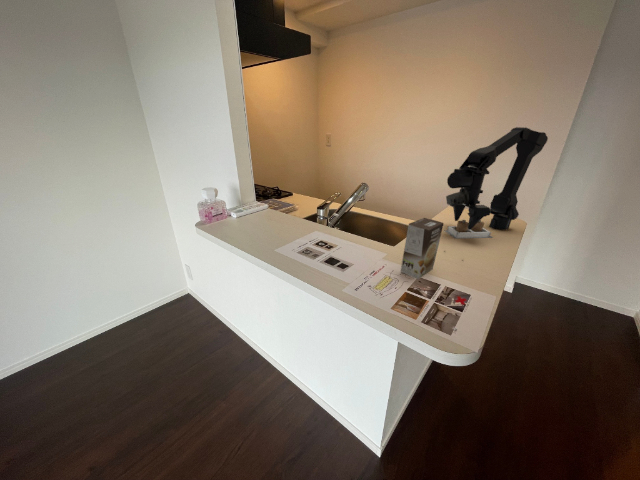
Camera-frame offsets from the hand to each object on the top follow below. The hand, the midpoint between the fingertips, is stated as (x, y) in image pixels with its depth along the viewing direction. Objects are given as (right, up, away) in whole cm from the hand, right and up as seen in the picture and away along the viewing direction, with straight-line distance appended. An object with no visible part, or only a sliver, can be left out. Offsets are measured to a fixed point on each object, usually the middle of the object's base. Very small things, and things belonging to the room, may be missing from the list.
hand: (462, 224), depth 103 cm
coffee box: (-27, -16, -22) cm, 38 cm away
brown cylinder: (0, -4, +2) cm, 4 cm away
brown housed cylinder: (+7, -3, +2) cm, 8 cm away
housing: (+3, -4, +2) cm, 6 cm away
